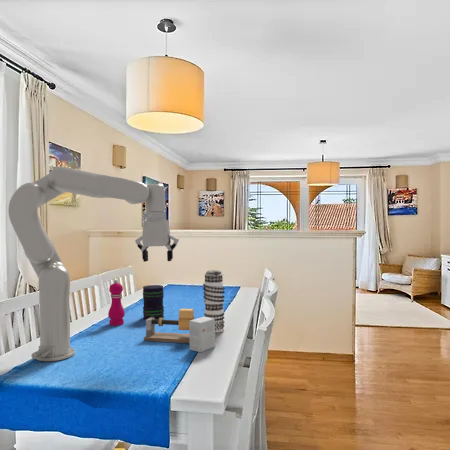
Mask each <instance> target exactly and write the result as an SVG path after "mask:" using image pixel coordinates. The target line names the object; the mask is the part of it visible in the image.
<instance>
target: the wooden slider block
mask: <svg viewBox="0 0 450 450" xmlns="http://www.w3.org/2000/svg"><path fill="white" fill-rule="evenodd" d="M194 319H195V311H194V308H180V309H179V310H178V319H177V320H178V321H179V325H178V331H189V321H190V320H194Z"/></svg>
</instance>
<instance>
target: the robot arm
mask: <svg viewBox="0 0 450 450" xmlns="http://www.w3.org/2000/svg"><path fill="white" fill-rule="evenodd" d="M165 190H166V189H165V186H164V185H163V184H162V183H161V184H160V183H152V184H145V183H143V182H140V181H137V180H132V179H127V178H123V177H117V176H111V175H105V174H99V173H96V172H95V173H94V172H89V171H85V170H81V169H76V168H72V167H67V166H55V167H54V168H53V169H52V170H51V171H50V173H48V174H45V176H43V177H41V178H39V179H37V180H36V181H33V182H27V183H26V182H25V183H23V184H21V185H19V187H17V188H16V190H15V191H14V193H13V194H12V196H11V197H10V199H9V203H8V211H7V212H8V218H9V220H10V224H11V226H12V228H13V231H14V233H15V235H16V236H17V239H18V241H19V242H20V244H21V246H22V249H23V252H24V255H25V257H26V258H27V259H28V261H29V263H30V265H31V266H32V269H33V270H34V272H35V274H36V276H37V278H38V289H39V290H38V291H39V292H38V293H39V294H38V296H39V297H38V298H39V300H38V301H39V303H38V304H39V306H38V307H39V345H38V350H37V351H35V352H33V353H31V358H32V359H33V360H37V361H40V362H58V361H61V360H66V359H69V358H71V357H73V356H74V355H75V354H76V350H75V348H74V347H71V328H70V327H71V321H70V320H71V319H70V318H71V314H70V313H71V311H70V289H71V288H70V286H71V277H70V274H69V271H68V269H67V268H66V266H65V265H64V263H63V261H62V259H61V257H60V256H59V253H58V252H57V251H58V250H56V247H55V245H54V242H53V241H52V240H51V239H50V237H49V235H48V233H47V232H46V230H45V228H44V226H43V225H44V224H42V220H41V219H40V217H39V215H38V213H39V212H38V208H40V207H41V206H43V205H45V204H47V203H49V202H51V201H52V200H54V199H56V198H58V197H59V196H60V195H63V194H64V193H70V194H75V195H80V196H85V197H91V198H98V199H109V198H111V199H118V200H124V201H126V202H127V203H128V204H131V205H137V204H144V203H145V213H143V214H142V218H144V219H145V220H143V225H142V233H141V234H142V235H141V236H140V237H138V238H136V239H135V240H134V242H135V244H136V246H137V247H138V248H139V250H140V251H141V254H142V255H141V256H142V258H141V259H142V261H143V262H145V263H146V262H148V261H149V251H148V248H149V247H165V248H166V249H167V251H166V255H167V256H166V257H167V262H171V261H172V260H173V259H174V257H173V255H174V253H173V251H174V249H175V248H176V247H177V246H178V244H179V242H180V241H179V240H180V238H178V237H176V236H174V235H172V234H171V231H170V229H171V228H170V225H169V220H168V219H167V214H166V191H165ZM171 240H172V241H173V243H172V244H171ZM141 242H142V243H141Z"/></svg>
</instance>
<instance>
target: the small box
mask: <svg viewBox="0 0 450 450" xmlns="http://www.w3.org/2000/svg"><path fill="white" fill-rule="evenodd" d="M188 331H189V333H188V334H190V343H189V350H191V351H195V352H198V353H203V352H205V351H209V350H211V349H212V348H215V347H216V332H215V319H214V318H209V317H205V316H201V317H198V318H194V320H190V321H189V330H188Z"/></svg>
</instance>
